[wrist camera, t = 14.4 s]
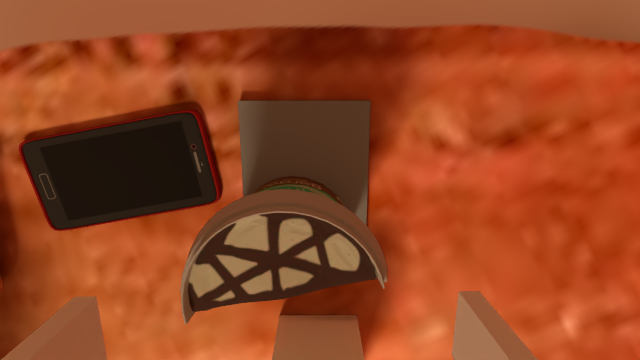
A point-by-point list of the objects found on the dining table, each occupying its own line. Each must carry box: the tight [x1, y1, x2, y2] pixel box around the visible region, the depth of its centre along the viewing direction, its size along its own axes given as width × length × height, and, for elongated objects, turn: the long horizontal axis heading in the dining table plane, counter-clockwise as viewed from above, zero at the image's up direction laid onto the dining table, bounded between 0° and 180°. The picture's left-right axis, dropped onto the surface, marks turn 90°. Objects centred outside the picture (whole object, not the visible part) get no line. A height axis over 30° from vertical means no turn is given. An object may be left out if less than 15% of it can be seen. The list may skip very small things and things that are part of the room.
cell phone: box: [19, 110, 222, 231], centre depth 28 cm, size 8×15×1 cm, turn 100°
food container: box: [181, 176, 387, 324], centre depth 23 cm, size 12×6×10 cm, turn 101°
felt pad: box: [238, 101, 371, 225], centre depth 28 cm, size 10×15×1 cm, turn 0°
